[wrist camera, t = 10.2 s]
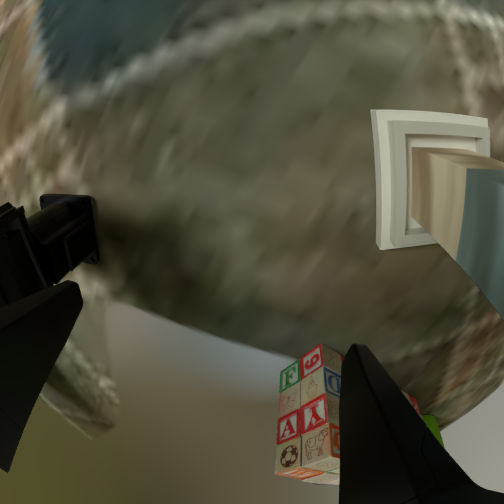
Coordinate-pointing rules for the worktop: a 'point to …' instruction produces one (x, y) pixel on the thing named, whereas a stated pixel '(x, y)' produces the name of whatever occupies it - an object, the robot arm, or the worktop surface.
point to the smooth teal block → (463, 212)
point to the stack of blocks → (312, 417)
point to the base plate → (400, 164)
